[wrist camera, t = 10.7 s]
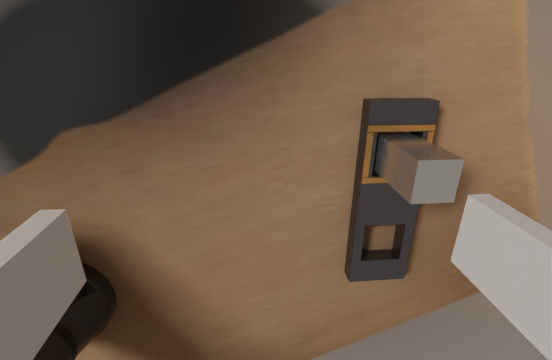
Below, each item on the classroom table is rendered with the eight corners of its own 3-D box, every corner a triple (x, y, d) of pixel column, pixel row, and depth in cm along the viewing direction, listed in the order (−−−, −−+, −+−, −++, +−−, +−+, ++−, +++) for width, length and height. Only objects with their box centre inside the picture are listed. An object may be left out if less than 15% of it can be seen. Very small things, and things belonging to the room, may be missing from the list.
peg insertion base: (344, 271, 52) (349, 282, 49) (363, 98, 41) (371, 101, 38) (396, 268, 52) (404, 279, 50) (429, 98, 42) (440, 101, 39)
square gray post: (369, 166, 45) (410, 204, 34) (373, 132, 43) (418, 160, 32) (402, 165, 45) (453, 202, 34) (408, 131, 43) (464, 159, 32)
